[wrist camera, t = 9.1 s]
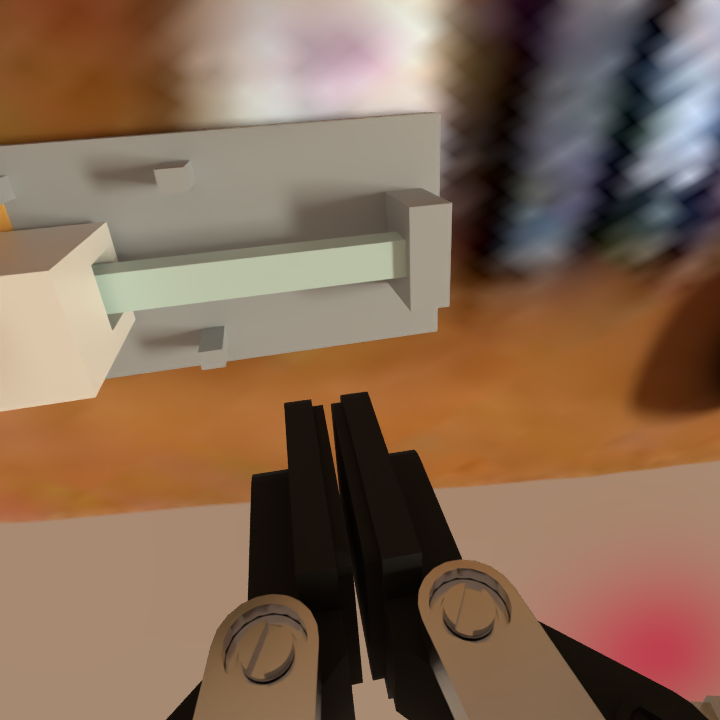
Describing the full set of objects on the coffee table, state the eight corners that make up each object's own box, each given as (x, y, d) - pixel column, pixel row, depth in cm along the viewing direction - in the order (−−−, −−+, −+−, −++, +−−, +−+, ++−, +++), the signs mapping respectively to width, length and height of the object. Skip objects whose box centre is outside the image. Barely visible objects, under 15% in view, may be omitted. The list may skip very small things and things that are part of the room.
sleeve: (-10, 233, 23) (-120, 289, 16) (106, 221, 23) (48, 270, 17) (31, 332, 25) (-49, 418, 18) (135, 319, 26) (95, 397, 19)
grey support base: (-228, 162, 22) (-434, 187, 15) (431, 112, 26) (492, 115, 20) (-93, 395, 27) (-200, 487, 21) (429, 321, 32) (476, 378, 25)
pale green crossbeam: (-170, 286, 21) (-213, 305, 19) (413, 223, 25) (428, 233, 23) (-141, 335, 22) (-179, 358, 20) (414, 267, 26) (428, 280, 24)
